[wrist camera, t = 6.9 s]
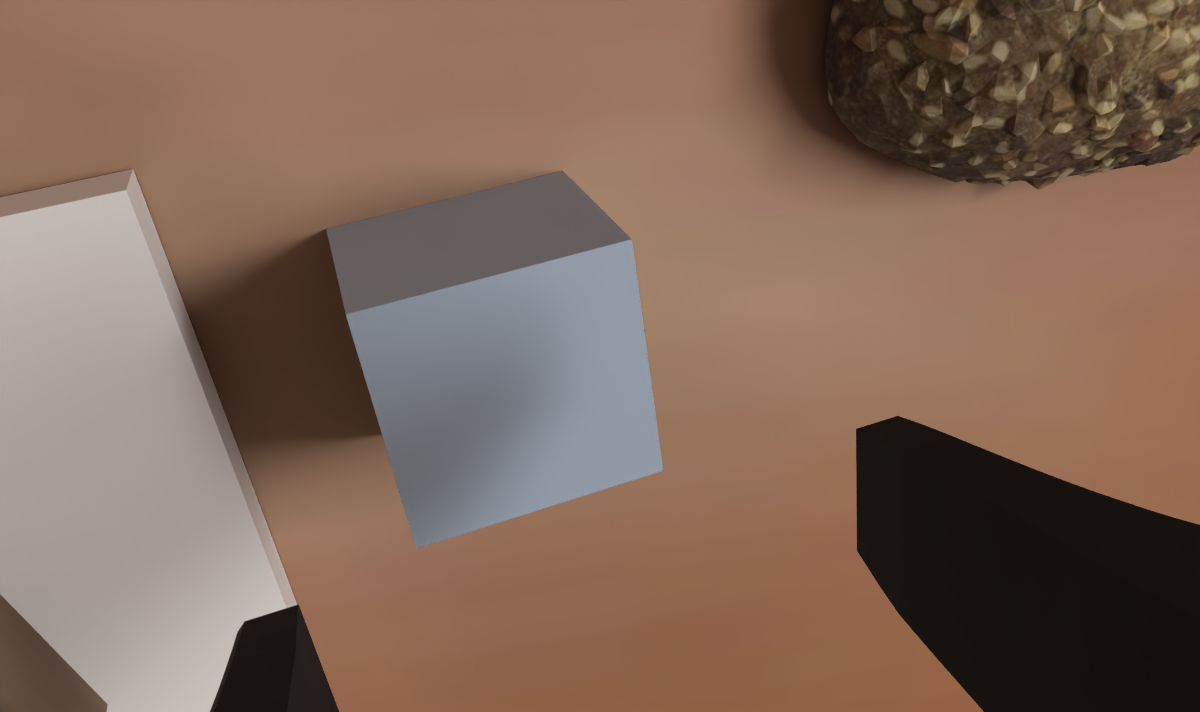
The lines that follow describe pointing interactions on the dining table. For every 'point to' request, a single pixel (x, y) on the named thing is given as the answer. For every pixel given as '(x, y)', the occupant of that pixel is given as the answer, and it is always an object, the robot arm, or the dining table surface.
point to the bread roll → (1017, 84)
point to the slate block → (500, 351)
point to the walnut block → (38, 672)
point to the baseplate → (119, 457)
